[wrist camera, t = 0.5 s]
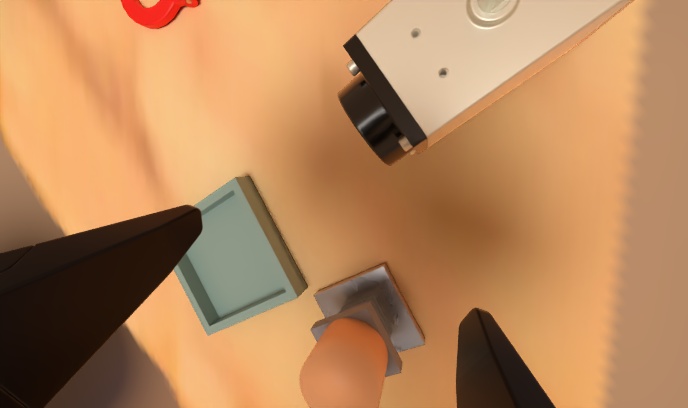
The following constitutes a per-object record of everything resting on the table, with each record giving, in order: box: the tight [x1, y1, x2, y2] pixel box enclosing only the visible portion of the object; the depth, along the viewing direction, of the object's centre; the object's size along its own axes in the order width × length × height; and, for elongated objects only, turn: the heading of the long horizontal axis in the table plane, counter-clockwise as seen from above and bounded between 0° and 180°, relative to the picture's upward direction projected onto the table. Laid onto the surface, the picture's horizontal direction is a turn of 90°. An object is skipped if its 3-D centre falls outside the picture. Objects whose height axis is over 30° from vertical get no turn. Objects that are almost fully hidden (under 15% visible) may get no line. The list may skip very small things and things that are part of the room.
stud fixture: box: [314, 263, 425, 352], centre depth 21 cm, size 7×7×4 cm
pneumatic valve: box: [338, 0, 634, 166], centre depth 13 cm, size 6×12×12 cm, turn 125°
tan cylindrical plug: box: [300, 302, 402, 408], centre depth 17 cm, size 5×5×4 cm
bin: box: [174, 177, 307, 336], centre depth 25 cm, size 12×12×2 cm
